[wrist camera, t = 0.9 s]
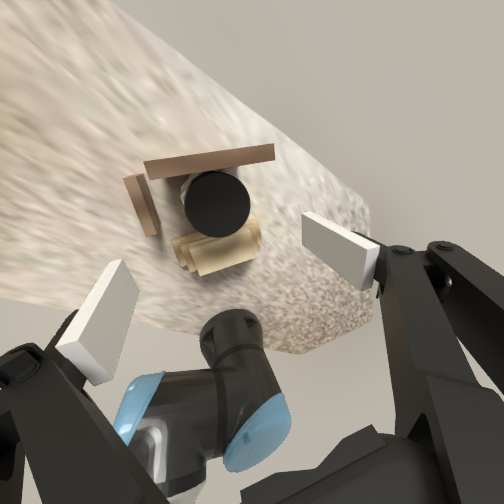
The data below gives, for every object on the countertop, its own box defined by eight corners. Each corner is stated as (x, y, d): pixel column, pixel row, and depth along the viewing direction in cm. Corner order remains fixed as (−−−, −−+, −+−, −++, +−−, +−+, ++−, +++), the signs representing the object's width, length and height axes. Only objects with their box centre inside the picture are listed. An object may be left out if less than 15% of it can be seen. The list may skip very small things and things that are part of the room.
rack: (244, 205, 38) (279, 233, 24) (151, 224, 34) (130, 270, 20) (235, 149, 33) (273, 143, 20) (128, 164, 30) (83, 169, 16)
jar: (211, 226, 38) (222, 252, 27) (171, 197, 34) (167, 215, 23) (241, 188, 36) (265, 200, 26) (204, 153, 32) (215, 152, 22)
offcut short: (251, 251, 37) (256, 257, 35) (198, 269, 35) (199, 276, 33) (246, 226, 35) (250, 231, 33) (189, 244, 33) (189, 250, 31)
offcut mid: (255, 245, 40) (259, 250, 38) (189, 265, 37) (190, 272, 35) (250, 222, 37) (254, 226, 35) (180, 241, 35) (180, 247, 33)
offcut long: (258, 239, 42) (262, 244, 40) (180, 260, 39) (180, 266, 37) (254, 216, 40) (258, 220, 38) (172, 237, 37) (171, 242, 35)
